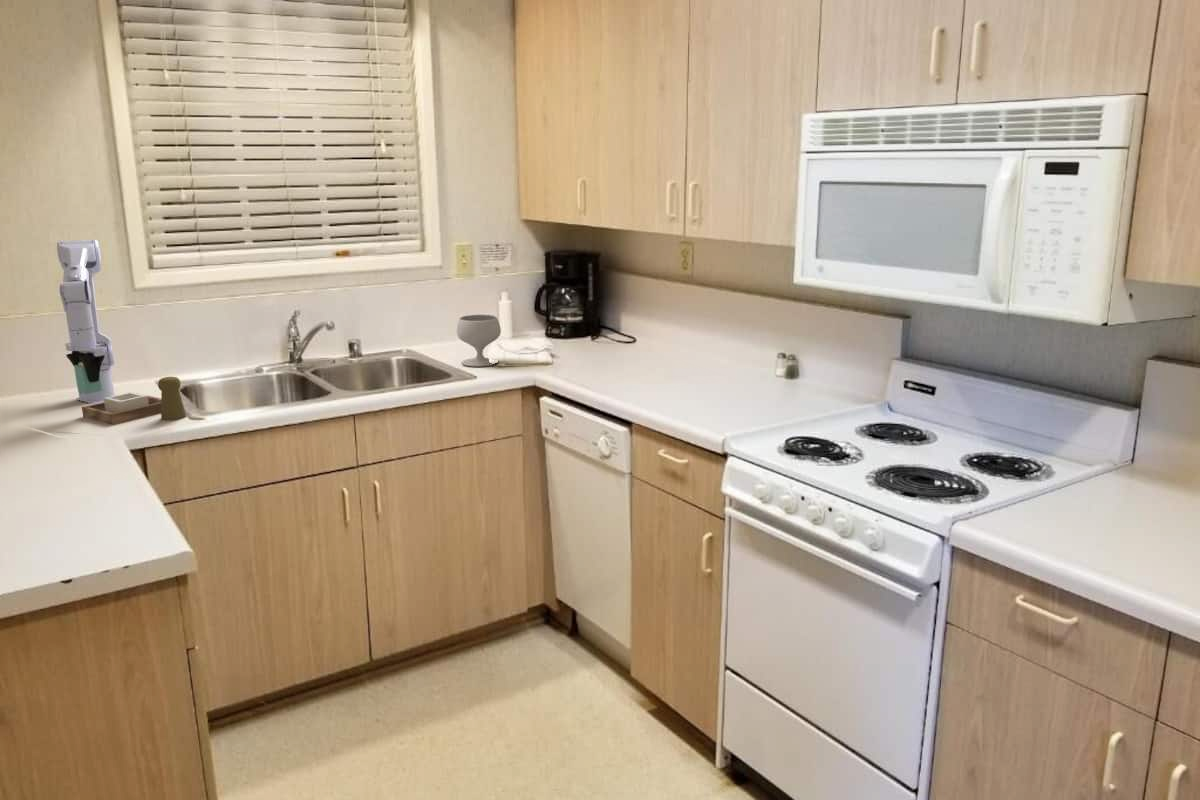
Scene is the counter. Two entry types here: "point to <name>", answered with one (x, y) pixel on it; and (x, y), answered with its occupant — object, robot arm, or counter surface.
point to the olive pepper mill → (171, 399)
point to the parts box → (122, 412)
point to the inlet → (125, 402)
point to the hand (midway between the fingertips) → (89, 380)
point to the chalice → (478, 335)
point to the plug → (85, 381)
